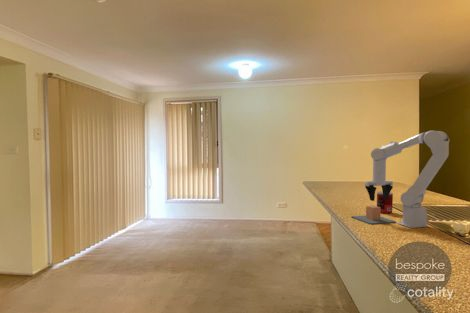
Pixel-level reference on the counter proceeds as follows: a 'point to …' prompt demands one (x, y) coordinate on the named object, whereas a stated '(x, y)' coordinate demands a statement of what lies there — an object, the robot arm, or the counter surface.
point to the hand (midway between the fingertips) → (378, 200)
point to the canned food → (385, 203)
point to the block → (373, 212)
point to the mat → (382, 220)
